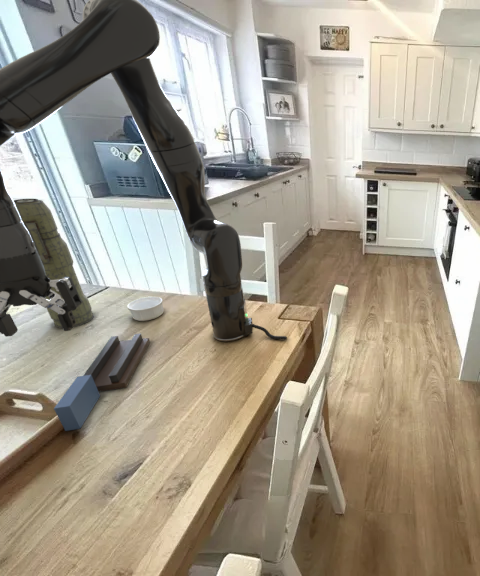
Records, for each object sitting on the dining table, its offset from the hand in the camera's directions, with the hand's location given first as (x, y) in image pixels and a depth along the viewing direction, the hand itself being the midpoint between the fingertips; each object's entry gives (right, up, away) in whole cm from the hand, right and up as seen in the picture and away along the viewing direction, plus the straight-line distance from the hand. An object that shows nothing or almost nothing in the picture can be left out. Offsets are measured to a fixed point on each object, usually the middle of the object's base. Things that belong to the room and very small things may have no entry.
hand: (41, 331), depth 61 cm
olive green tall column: (-27, -1, +35) cm, 44 cm away
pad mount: (-1, -11, +19) cm, 22 cm away
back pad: (+3, -18, +6) cm, 19 cm away
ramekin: (-9, 0, +40) cm, 41 cm away
